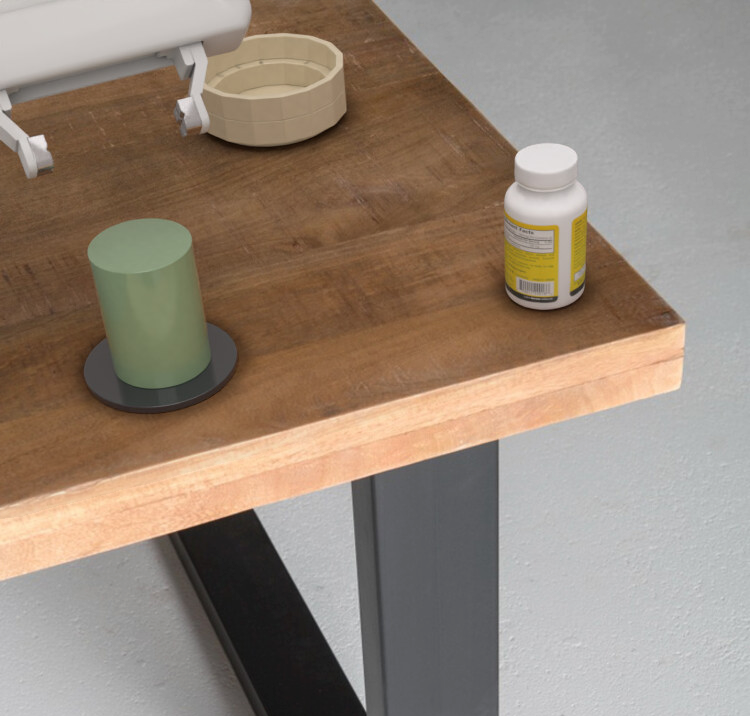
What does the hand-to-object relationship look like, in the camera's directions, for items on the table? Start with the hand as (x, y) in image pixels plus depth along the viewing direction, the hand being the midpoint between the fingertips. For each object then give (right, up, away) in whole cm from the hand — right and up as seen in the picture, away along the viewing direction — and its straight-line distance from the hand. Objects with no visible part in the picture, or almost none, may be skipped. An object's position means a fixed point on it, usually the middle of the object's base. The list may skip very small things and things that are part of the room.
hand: (120, 152), depth 81 cm
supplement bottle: (+26, -5, +15) cm, 31 cm away
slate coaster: (+1, -11, +11) cm, 15 cm away
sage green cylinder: (+1, -10, +11) cm, 15 cm away
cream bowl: (+6, +13, +36) cm, 39 cm away
